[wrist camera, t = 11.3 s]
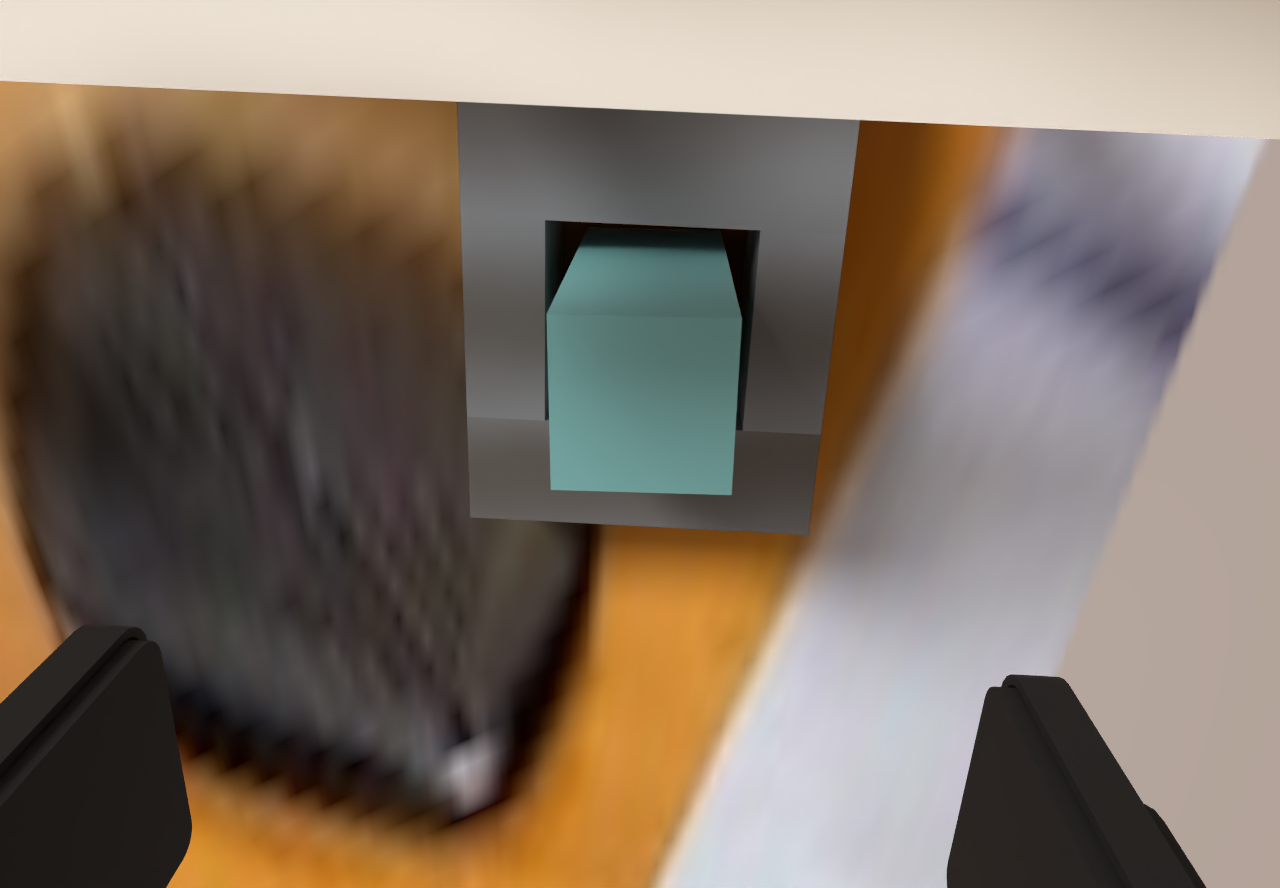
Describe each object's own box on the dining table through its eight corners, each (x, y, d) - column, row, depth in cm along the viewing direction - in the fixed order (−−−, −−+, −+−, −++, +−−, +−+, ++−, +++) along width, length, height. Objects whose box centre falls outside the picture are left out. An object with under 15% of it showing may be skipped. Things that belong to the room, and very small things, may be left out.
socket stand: (882, 482, 32) (1126, 996, 15) (405, 457, 32) (93, 934, 15) (984, -169, 24) (1706, -666, 7) (365, -195, 25) (-334, -733, 8)
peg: (720, 230, 29) (741, 318, 19) (714, 357, 30) (731, 495, 21) (588, 227, 29) (546, 313, 19) (588, 353, 30) (551, 489, 21)
